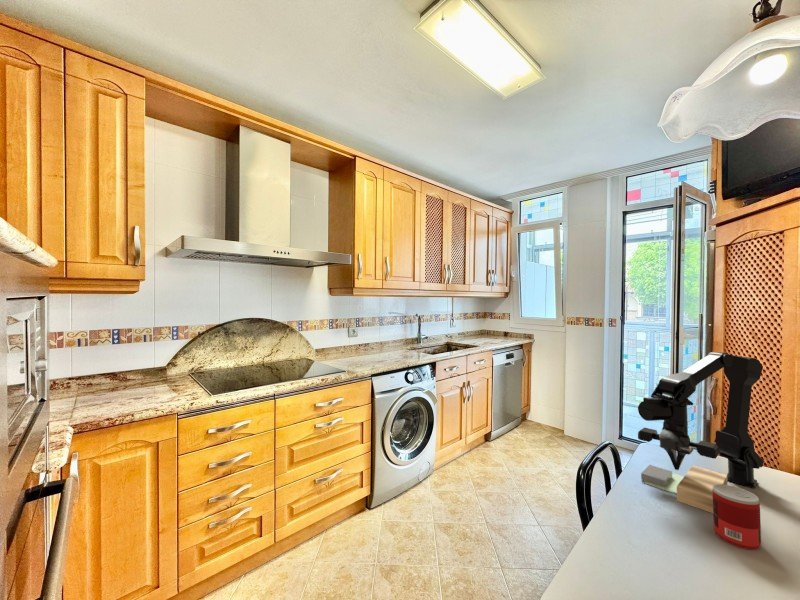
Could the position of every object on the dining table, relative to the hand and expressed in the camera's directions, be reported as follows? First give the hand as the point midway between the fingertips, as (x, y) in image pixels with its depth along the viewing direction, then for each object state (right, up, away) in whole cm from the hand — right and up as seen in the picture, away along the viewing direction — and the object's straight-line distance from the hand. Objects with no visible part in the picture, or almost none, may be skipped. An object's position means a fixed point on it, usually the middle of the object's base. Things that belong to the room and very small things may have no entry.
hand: (676, 469), depth 102 cm
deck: (+4, -5, -5) cm, 8 cm away
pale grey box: (-3, -3, +4) cm, 6 cm away
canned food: (-6, -5, -24) cm, 25 cm away
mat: (-1, -5, +2) cm, 6 cm away
